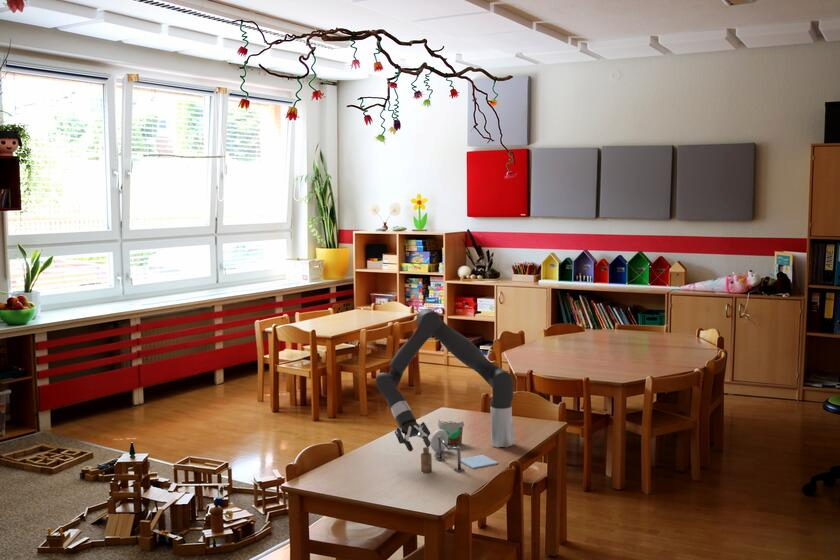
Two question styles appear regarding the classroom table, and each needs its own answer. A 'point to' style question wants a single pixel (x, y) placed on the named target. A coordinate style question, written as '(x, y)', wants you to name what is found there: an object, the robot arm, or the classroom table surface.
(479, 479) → the classroom table surface
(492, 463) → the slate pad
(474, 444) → the classroom table surface
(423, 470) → the brown bottle
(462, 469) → the grey stand
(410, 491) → the classroom table surface
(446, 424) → the food container
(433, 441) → the grey wheel
